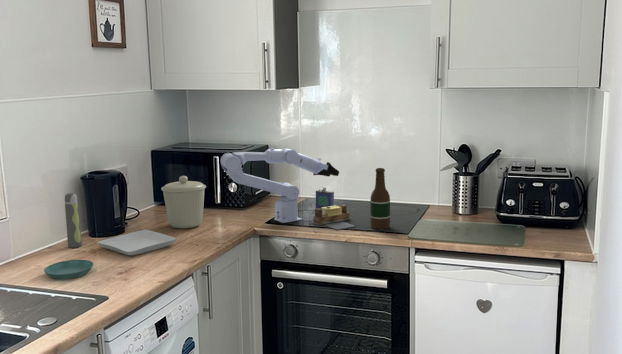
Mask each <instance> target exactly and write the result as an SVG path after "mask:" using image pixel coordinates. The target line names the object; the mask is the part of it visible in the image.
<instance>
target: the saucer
mask: <svg viewBox="0 0 622 354" xmlns="http://www.w3.org/2000/svg"><path fill="white" fill-rule="evenodd" d="M93 267H94V262H93V261H91V260H89V259H88V260H87V259H69V260H63V261H59V262H55V263H52V264H50V265H48V266H47V267H45V268H44V269H43V272H44V273H45V274H46V275H47V276H48V277H50V278H52V279H53V280H61V281H62V280H63V281H64V280H72V279H76V278H80V277H83V276H85V275H86V274H88V273H89V272H90V271H91V270H92V268H93Z"/></svg>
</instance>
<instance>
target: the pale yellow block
mask: <svg viewBox="0 0 622 354" xmlns="http://www.w3.org/2000/svg"><path fill="white" fill-rule="evenodd" d="M321 209H322V215H325V216H328V217H329V216H335V215H341V214H342V207H341V206H338V205H336V204H334V206H327V207H321Z"/></svg>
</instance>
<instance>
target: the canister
mask: <svg viewBox="0 0 622 354" xmlns="http://www.w3.org/2000/svg"><path fill="white" fill-rule="evenodd" d="M206 188H207V185H206V184H204V183H202V182H201V181H193V180H188V176H186V175H181V176H179V178H178V181H174V182H169V183H167V184H165V185H164V186H162V187H161V191H162V192H163V198H164V199H163V201H164V205H165V210H166V214H167V215H166V217H167V219H168V223H169V225H170V226H171V227H172V228H175V229H182V230H183V229H192V228H196V227H198V226H200V225H201V224H202V223H203V222H202V221H203V217H204V205H205V204H204V202H205V189H206Z"/></svg>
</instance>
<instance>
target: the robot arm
mask: <svg viewBox="0 0 622 354" xmlns="http://www.w3.org/2000/svg"><path fill="white" fill-rule="evenodd" d="M321 160H322V159H321V158H319V157H318V158H317V159H315V158H313V157H310V156H308V155H305V154H302V153H299V152H298V151H296V150H295V149H294V150H293V149H290V148H286V147H285V148H284V147H283V148H280V149H277V148H276V149H275V148H274V147H269V148H268V149H266V150H265V151H264V152H259V151H255V152H254V151H237V152H236V151H235V152H232V153H230V152H226V153H224V154H223V155H222V156H221V157H220V161H219V162H220V166H221V168H222V169H223V170H224V172H226V174H227V175H228V177H229V178H230V179H231V180H232V181H233V182H235V183H236V184H239V185H243V186H247V187H251V188H254V189H258V190H263V191H265V192H269V193H274V194H276V195H280V197H279V198H280V200H277V201H275V202H274V218H273V219H274V220H275V221H277V222H279V223H281V224H284V223H291V222H298V221H302V220H303V218H301V217H299V214H298V213H299V212H298V210H299V209H298V206H299V205H298V204H299V203H298V202H299V201H298V198H299V196H300V189H299V188H298V186H297V185H294V184H291V183H290V182H287V181H285V182H284V181H283V182H280V181H279V182H278V181H274V180H270V179H266V178H263V177H259V176H255V175H252V174H247V173H244V170H243V169H242V166H244V165H245V163H247V162H251V161H253V162H254V161H256V162H257V161H265V162H266V163H267V164H284V163H286V164H289V165H294V166H295V167H298V168H299V169H301V170H302V169H303V170H305V171H307V172H310V173H313V176H324V177H330V176H334V177H338V176H339V175H340V171H339V170H338V169H337V168H335V167H334V166H333V165H332V164H331V162H328V161H327V162H326V163H324V162H322V161H321Z"/></svg>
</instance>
